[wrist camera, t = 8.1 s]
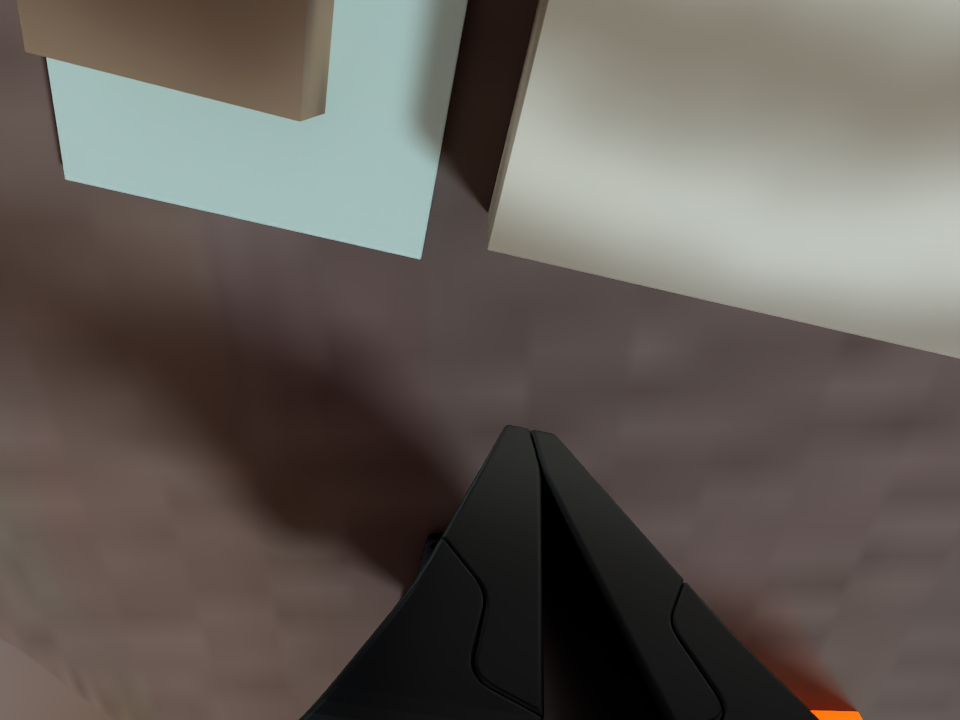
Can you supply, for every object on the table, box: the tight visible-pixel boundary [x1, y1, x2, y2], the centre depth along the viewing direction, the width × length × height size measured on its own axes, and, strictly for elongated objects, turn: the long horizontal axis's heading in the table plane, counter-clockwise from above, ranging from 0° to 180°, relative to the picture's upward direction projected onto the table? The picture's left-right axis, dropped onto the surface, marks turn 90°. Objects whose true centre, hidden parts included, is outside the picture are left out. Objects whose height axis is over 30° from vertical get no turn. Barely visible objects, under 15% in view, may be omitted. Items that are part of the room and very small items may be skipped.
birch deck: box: [488, 0, 960, 358], centre depth 14 cm, size 12×16×4 cm
